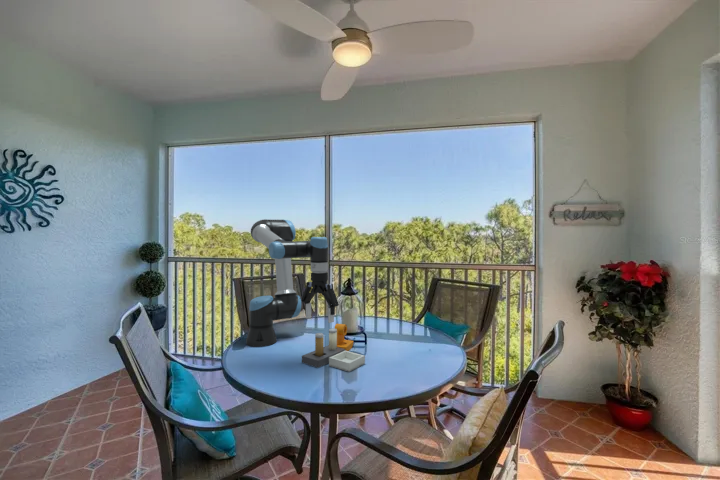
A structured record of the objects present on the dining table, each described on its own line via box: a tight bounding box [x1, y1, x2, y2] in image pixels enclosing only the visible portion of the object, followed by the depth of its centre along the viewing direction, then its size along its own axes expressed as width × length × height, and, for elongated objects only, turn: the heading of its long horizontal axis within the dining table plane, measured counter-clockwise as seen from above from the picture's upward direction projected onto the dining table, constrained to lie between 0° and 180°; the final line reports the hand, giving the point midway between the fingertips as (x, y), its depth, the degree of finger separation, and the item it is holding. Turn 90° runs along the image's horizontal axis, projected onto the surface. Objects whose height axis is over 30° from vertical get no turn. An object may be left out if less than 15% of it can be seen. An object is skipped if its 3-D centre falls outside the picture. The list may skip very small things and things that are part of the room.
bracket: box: [334, 323, 354, 352], centre depth 170 cm, size 11×7×12 cm, turn 160°
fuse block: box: [301, 327, 345, 369], centre depth 156 cm, size 18×10×12 cm, turn 143°
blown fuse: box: [314, 332, 325, 357], centre depth 153 cm, size 4×4×12 cm
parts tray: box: [328, 350, 366, 373], centre depth 149 cm, size 11×11×4 cm
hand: (319, 320), depth 153 cm, fingers open, 13 cm apart
